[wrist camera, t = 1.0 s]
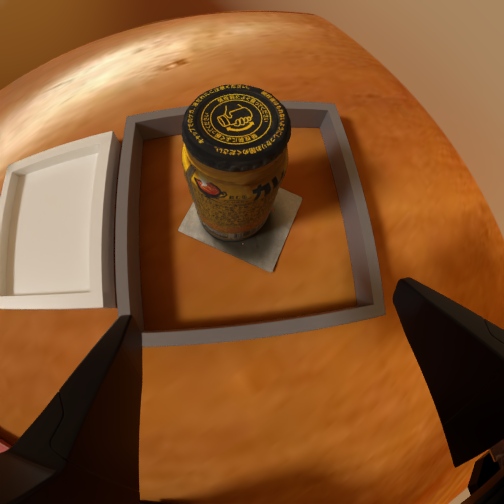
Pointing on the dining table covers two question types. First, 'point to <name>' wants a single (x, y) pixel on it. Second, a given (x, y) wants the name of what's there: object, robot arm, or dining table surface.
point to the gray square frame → (367, 307)
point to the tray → (60, 227)
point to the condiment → (238, 173)
